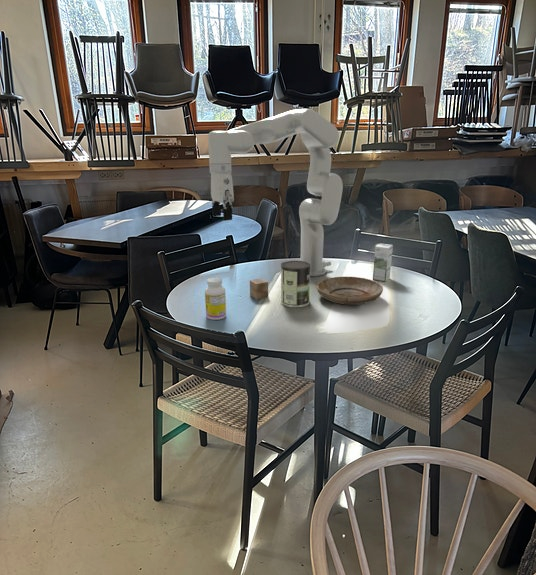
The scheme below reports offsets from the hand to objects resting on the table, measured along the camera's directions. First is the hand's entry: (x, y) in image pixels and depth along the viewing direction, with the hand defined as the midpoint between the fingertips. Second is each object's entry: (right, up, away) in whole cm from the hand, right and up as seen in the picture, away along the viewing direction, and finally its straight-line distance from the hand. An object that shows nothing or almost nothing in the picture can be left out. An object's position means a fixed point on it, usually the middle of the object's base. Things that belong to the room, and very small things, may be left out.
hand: (222, 217), depth 156 cm
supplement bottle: (-1, -35, -13) cm, 37 cm away
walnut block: (+13, -28, +5) cm, 32 cm away
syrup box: (+63, -22, +23) cm, 71 cm away
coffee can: (+26, -30, -1) cm, 40 cm away
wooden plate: (+46, -29, +3) cm, 55 cm away
